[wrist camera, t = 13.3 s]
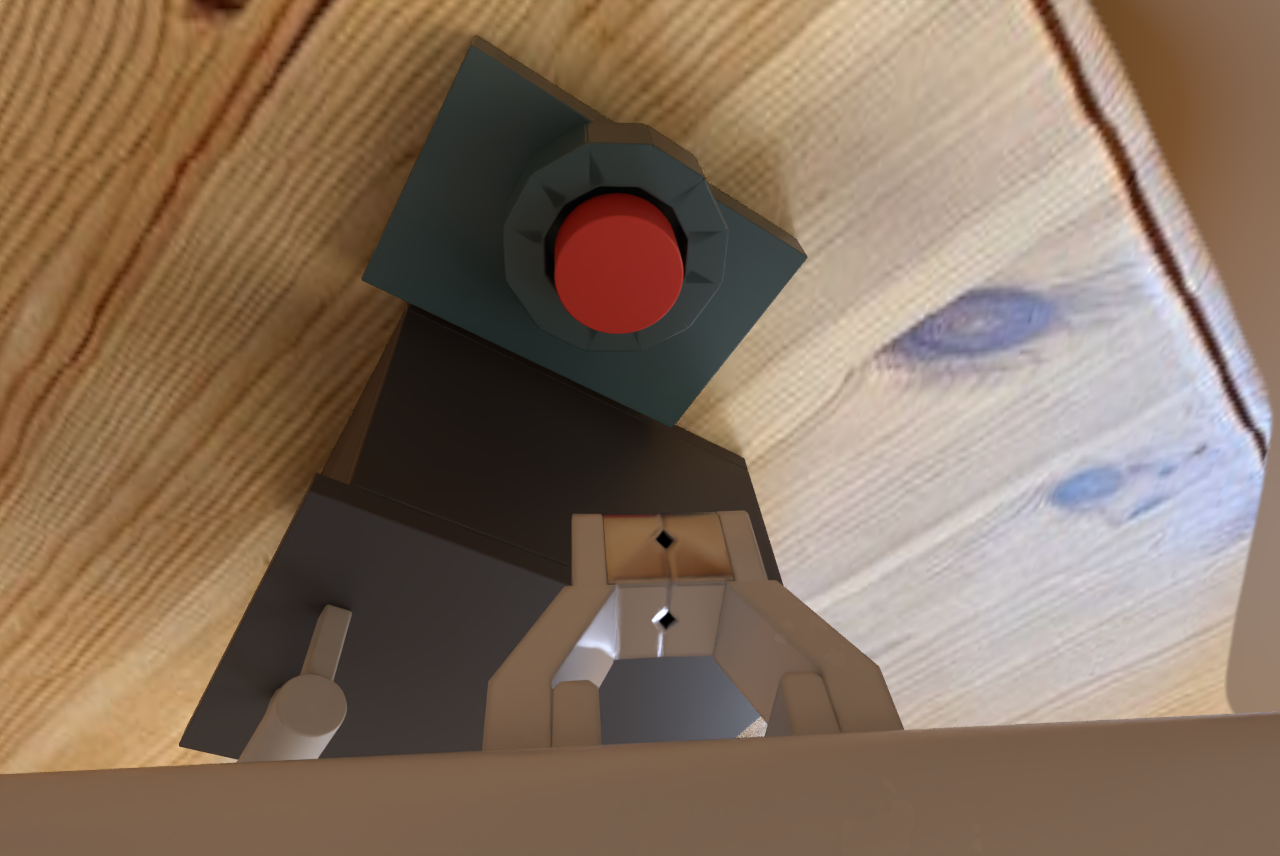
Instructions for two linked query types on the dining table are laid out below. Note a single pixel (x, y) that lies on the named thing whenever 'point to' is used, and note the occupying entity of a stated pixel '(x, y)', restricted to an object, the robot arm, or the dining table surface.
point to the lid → (413, 644)
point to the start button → (617, 263)
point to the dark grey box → (521, 446)
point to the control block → (529, 223)
